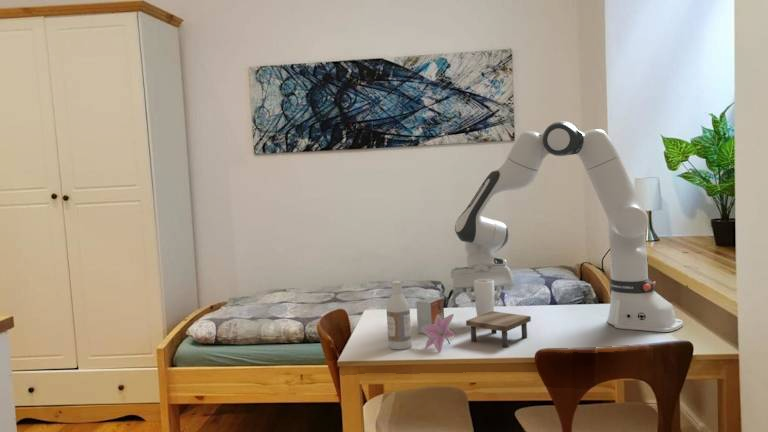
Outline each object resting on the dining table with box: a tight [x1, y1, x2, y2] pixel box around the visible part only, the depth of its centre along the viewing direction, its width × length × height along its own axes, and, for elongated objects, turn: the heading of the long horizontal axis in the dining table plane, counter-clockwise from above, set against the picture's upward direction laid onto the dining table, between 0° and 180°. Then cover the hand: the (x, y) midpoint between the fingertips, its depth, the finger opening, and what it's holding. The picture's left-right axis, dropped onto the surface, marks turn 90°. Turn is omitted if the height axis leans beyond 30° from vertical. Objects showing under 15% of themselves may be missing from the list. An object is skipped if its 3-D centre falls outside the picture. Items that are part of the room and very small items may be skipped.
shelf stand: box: [465, 310, 532, 348], centre depth 204 cm, size 14×14×6 cm
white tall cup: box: [473, 279, 496, 317], centre depth 221 cm, size 7×7×15 cm
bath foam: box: [386, 280, 412, 351], centre depth 202 cm, size 7×7×20 cm
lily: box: [422, 313, 456, 353], centre depth 200 cm, size 12×12×10 cm
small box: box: [415, 296, 445, 335], centre depth 218 cm, size 8×6×10 cm
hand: (484, 300), depth 221 cm, fingers closed on white tall cup, 6 cm apart
